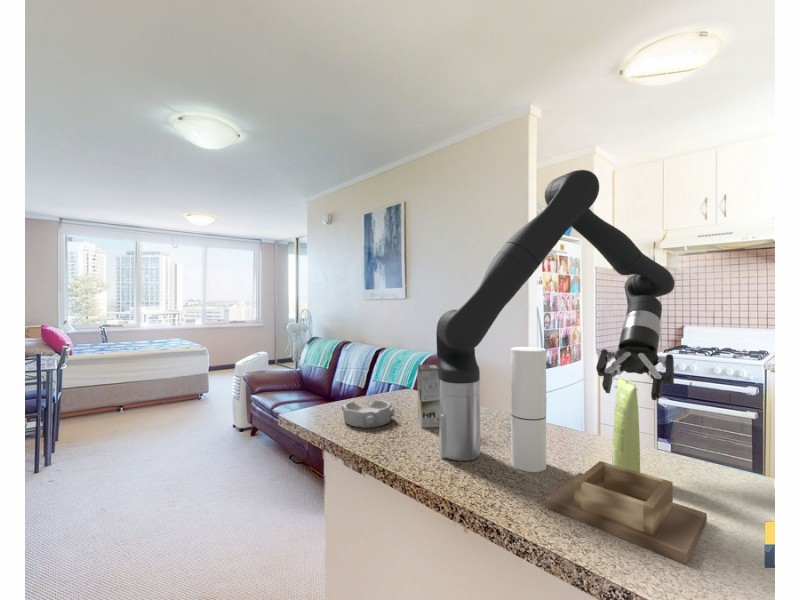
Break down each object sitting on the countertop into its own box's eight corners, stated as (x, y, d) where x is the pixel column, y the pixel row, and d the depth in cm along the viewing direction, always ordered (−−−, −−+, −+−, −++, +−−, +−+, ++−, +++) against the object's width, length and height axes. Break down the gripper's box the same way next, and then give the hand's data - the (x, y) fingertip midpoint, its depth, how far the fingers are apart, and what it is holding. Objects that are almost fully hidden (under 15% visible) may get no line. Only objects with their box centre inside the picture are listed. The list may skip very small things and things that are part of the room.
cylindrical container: (545, 460, 87) (545, 347, 86) (546, 474, 80) (546, 352, 80) (512, 456, 89) (511, 346, 89) (510, 469, 82) (509, 350, 82)
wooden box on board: (545, 507, 68) (545, 475, 68) (579, 480, 77) (579, 452, 77) (686, 564, 53) (686, 524, 53) (706, 522, 63) (706, 488, 63)
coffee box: (444, 427, 109) (443, 369, 109) (421, 428, 108) (420, 370, 108) (438, 416, 118) (437, 363, 118) (417, 417, 118) (416, 364, 117)
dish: (336, 419, 117) (336, 403, 117) (376, 411, 125) (376, 396, 125) (358, 434, 105) (358, 415, 105) (401, 424, 112) (401, 406, 112)
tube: (648, 477, 78) (648, 380, 78) (635, 485, 75) (635, 383, 75) (619, 467, 83) (619, 375, 82) (606, 473, 80) (606, 378, 80)
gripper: (603, 322, 93) (589, 379, 84) (676, 325, 84) (669, 389, 75) (608, 343, 97) (596, 398, 88) (679, 347, 88) (672, 410, 79)
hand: (629, 394), depth 82 cm, fingers open, 8 cm apart
